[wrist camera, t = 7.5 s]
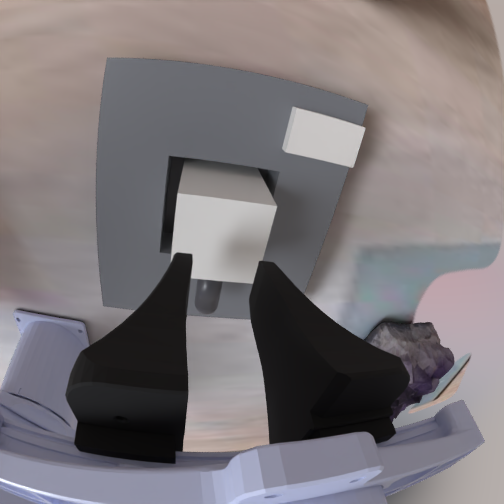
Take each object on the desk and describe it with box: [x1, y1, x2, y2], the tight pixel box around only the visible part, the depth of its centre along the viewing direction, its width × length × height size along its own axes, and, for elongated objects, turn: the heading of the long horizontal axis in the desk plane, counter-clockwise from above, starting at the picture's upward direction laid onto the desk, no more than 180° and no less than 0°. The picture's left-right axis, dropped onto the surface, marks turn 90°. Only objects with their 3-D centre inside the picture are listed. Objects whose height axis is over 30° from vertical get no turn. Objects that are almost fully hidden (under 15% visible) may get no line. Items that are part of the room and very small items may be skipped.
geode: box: [365, 322, 454, 422], centre depth 31 cm, size 20×12×10 cm, turn 149°
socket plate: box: [96, 58, 368, 319], centre depth 18 cm, size 16×14×4 cm
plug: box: [171, 158, 277, 315], centre depth 18 cm, size 8×4×6 cm, turn 168°
